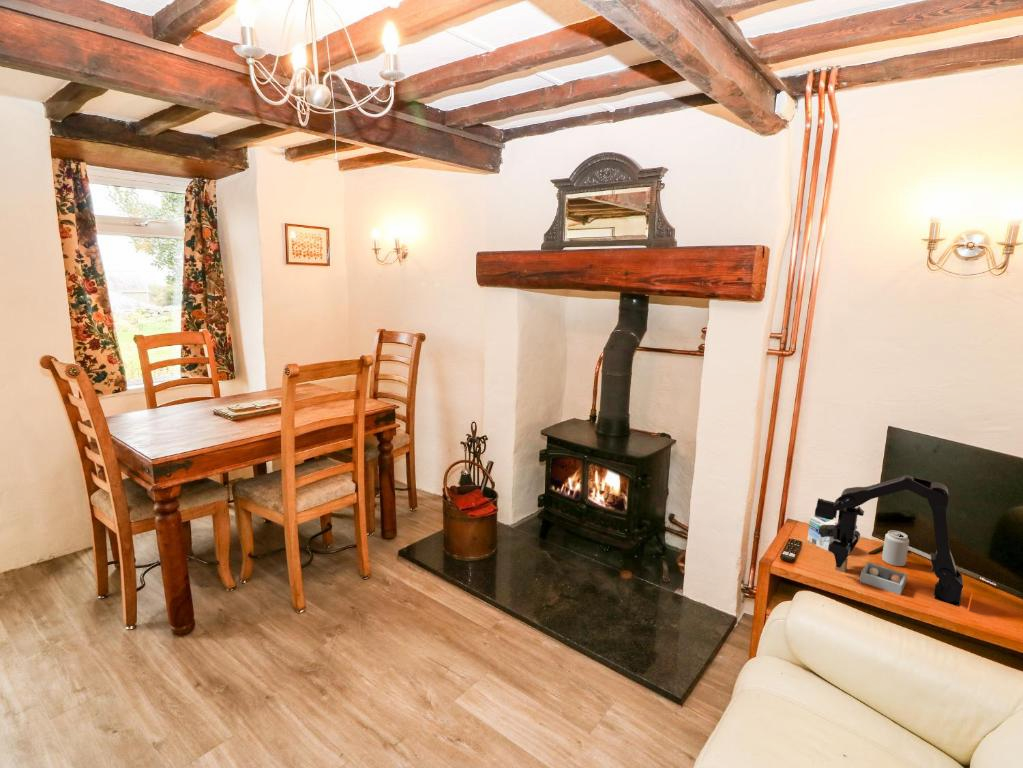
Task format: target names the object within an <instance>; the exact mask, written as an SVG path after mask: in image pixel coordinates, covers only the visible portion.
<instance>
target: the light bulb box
mask: <svg viewBox="0 0 1023 768" xmlns="http://www.w3.org/2000/svg"><path fill="white" fill-rule="evenodd" d="M837 523H838V521H836V520H834V519H832V520H829V519H825V518H820V517H816V516H815V515H812V516H811V515H810V517H809V525H808V532H807V533H808V534H807V541H808V542H809V543H810V544H813V545H815V546H816V547H818V548H821V549H823V550H825V551H827V552H830V551H829V550H828V546H829V544H830V543H831V542H832V541H834V540H835V541H838V542H841V541H839V540H838V539H837V540H836V539H833V537H821V536H820V534H818V532H819V529H818V528H819V527H820V526H821V525H837Z"/></svg>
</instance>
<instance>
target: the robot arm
mask: <svg viewBox="0 0 1023 768" xmlns="http://www.w3.org/2000/svg"><path fill="white" fill-rule="evenodd" d="M903 491H910V492H912V493H915V495H918V496H920V497H921V498H924V499H927V503H928V505H929V509H930V510H931V512H932V520H933V528H934V529H933V530H934V538H935V540H934V541H935V548H936V551H935V553H934V552H930V560H931V561H930V562H931V572H934V575H935V577H936V578H938V581H936V583H935V586H934V593H933V596H934V600H937V601H939V602H943V603H946V604H949V605H953V606H955V607H960V606H961V602H962V593H963V589H964V581H963V580H964V579H963V574H962V573H961V572H960V571H959V570H958V569H957V566H956V563H955V559H954V557H953V554H952V552H951V547H950V539H949V529H948V528H949V527H948V520H947V511H948V507H949V489H948V487H947V486H946V485H945V484H944V483H942V482H938V481H934V482H933V481H931V480H927V479H925V478H919V477H915V476H912V475H909V474H905V475H902V476H900V477H897V478H893V479H889V480H886V481H882V482H878V483H876V484H871V485H868V486H853V487H847V488H844V490H842V493H841V495H840V496H839V497H837V498H836V499H835V501H831V500H825V499H824V498H823V499H822V498H818V499H817V500H816V501H817V502H816V507H815V509H814V516H816V517H820V518H825V519H829V520H834V519H836V518H837V516H838V518H837V522H838V523H837V525H821V526H820V527H819V528H818V529H819V532H818V534H820V536H821V537H833V539H836V540H837V539H838V540H839V541H841V542H838V541H835V540H834V541H832V542H831V543H830V544H829V546H828V550H829V551H828V552H830V553H832V554H833V556H834V561H835V567H836V566H837V567H839V568H840V567H841V566H842V564H843V563H844V561H845V560H846V558H847V559H848V557H849V556H850V554H851V553H852V551H853V550H854V548H855V547H856V545H857V544H858V543H859V541H860V538H861V533H860V532H859V531H858V530H857V529H858V525H857V520H858V516H861V517H863V516H864V515H865V511H864V510H863V509H862V507H860V506H862V505H863V504H865V503H867V502H869V501H871V500H873V499H876V498H880V497H884V496H888V495H891V494H894V493H898V492H903ZM837 514H838V515H837Z"/></svg>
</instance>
